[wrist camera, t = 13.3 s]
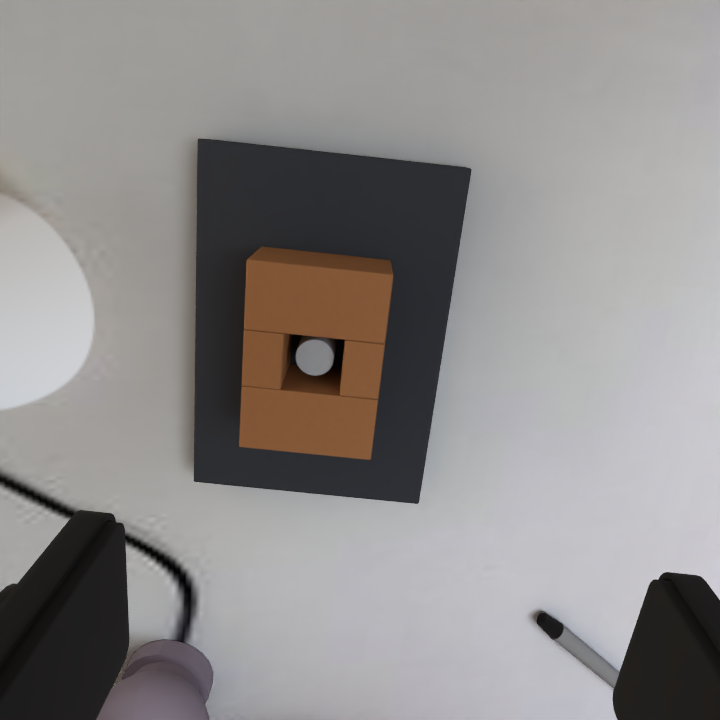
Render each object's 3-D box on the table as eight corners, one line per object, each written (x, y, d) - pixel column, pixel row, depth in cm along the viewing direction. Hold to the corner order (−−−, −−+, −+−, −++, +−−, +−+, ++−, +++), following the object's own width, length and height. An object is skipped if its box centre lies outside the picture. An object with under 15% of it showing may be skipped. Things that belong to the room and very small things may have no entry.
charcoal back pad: (207, 139, 32) (179, 137, 27) (466, 167, 32) (482, 170, 28) (202, 465, 39) (178, 509, 34) (416, 487, 39) (422, 533, 34)
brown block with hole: (260, 245, 32) (246, 259, 28) (390, 259, 32) (393, 274, 28) (253, 415, 35) (238, 447, 32) (370, 427, 35) (370, 460, 32)
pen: (545, 605, 42) (550, 619, 41) (690, 725, 46) (699, 742, 44) (531, 616, 42) (536, 630, 41) (676, 735, 46) (684, 751, 45)
